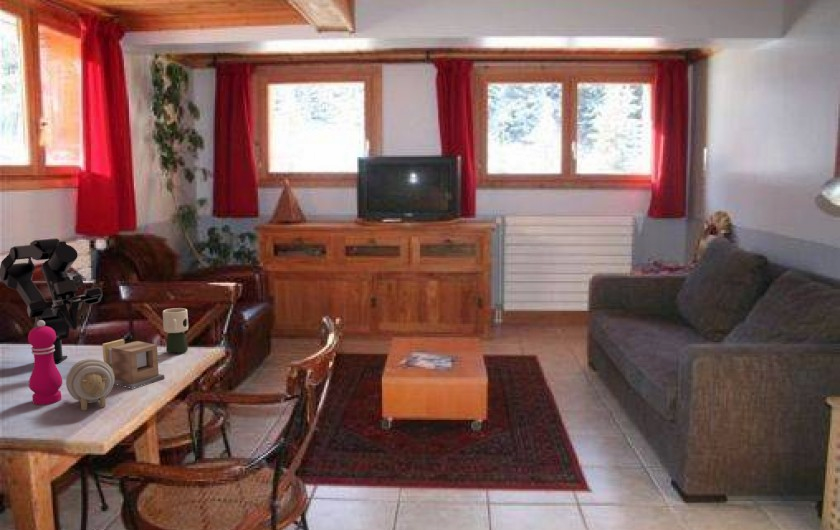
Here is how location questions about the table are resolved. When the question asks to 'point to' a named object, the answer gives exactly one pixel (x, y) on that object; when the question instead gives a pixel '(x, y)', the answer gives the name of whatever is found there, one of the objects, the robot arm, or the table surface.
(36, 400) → the pepper mill
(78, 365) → the toy sheep
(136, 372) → the wooden drawer box
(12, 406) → the table surface
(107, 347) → the tan drawer
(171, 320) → the character mug
